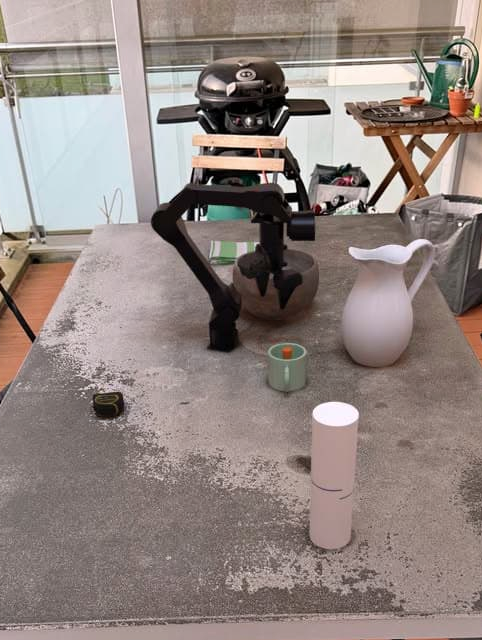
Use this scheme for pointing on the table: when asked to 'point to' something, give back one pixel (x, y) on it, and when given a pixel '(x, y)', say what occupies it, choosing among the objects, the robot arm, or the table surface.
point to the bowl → (270, 302)
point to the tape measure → (108, 403)
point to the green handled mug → (287, 368)
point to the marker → (286, 353)
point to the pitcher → (382, 303)
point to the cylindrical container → (332, 473)
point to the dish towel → (229, 251)
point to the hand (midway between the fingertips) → (272, 302)
